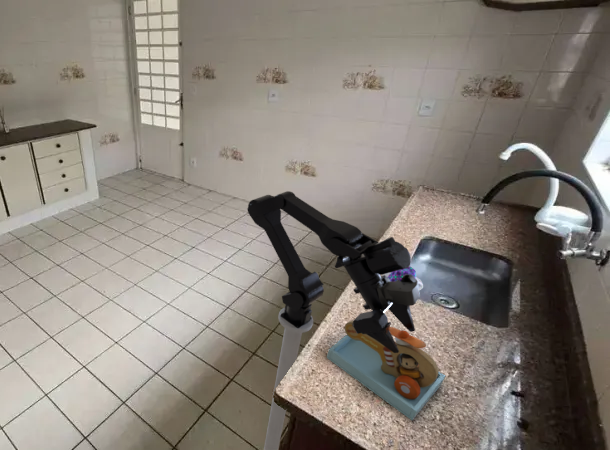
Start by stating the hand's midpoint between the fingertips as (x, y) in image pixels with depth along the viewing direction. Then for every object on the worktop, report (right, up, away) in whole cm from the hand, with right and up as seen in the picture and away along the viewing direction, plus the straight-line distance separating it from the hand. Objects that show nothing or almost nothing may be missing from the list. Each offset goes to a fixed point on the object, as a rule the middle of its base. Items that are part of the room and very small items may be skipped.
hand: (405, 341), depth 77 cm
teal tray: (-1, -10, +8) cm, 13 cm away
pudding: (+23, +7, +39) cm, 46 cm away
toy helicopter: (0, -10, +8) cm, 12 cm away
